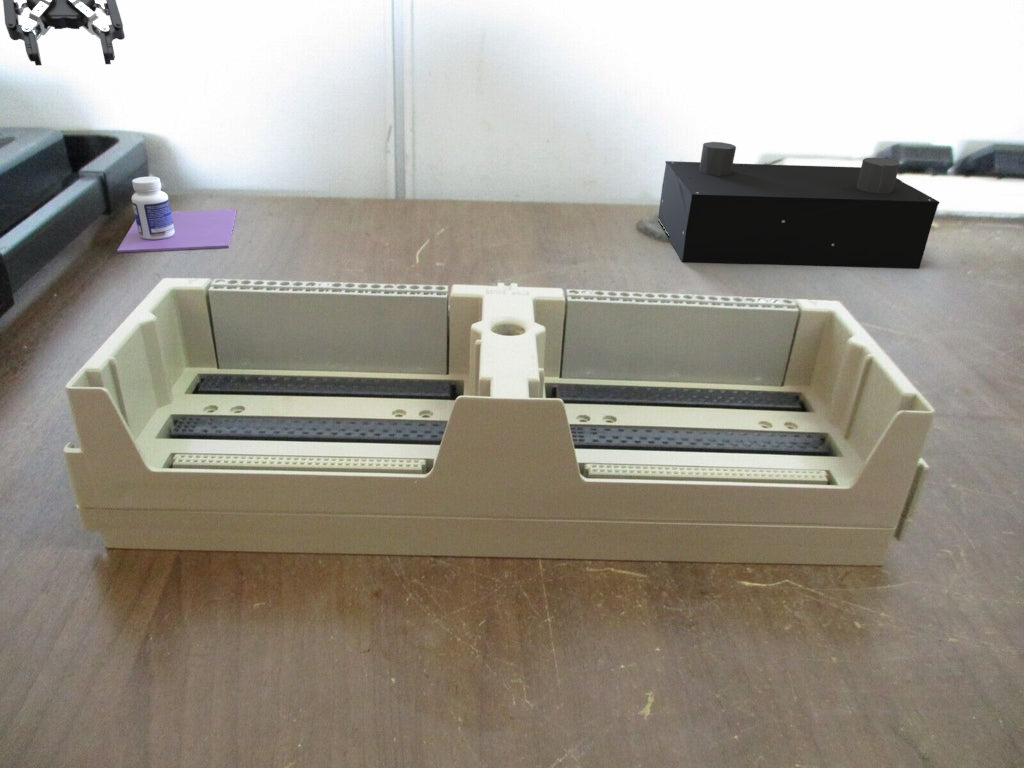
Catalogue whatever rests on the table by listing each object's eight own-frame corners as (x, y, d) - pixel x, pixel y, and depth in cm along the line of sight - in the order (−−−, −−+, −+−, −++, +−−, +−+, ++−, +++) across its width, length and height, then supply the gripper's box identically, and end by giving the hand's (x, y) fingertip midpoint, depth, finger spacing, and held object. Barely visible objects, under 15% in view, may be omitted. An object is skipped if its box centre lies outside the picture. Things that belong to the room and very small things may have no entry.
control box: (681, 261, 120) (696, 164, 113) (655, 216, 141) (665, 132, 134) (919, 268, 121) (948, 173, 114) (856, 222, 142) (878, 139, 135)
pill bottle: (181, 231, 124) (171, 176, 120) (164, 241, 120) (153, 184, 115) (150, 229, 125) (139, 174, 120) (132, 239, 120) (120, 182, 116)
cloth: (117, 253, 116) (116, 250, 116) (140, 214, 133) (139, 212, 132) (228, 247, 119) (228, 245, 119) (236, 211, 136) (236, 208, 136)
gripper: (-13, -60, 102) (5, 42, 99) (106, -56, 108) (126, 41, 104) (2, -17, 109) (20, 80, 105) (113, -15, 115) (133, 77, 111)
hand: (73, 61), depth 105 cm, fingers open, 8 cm apart
